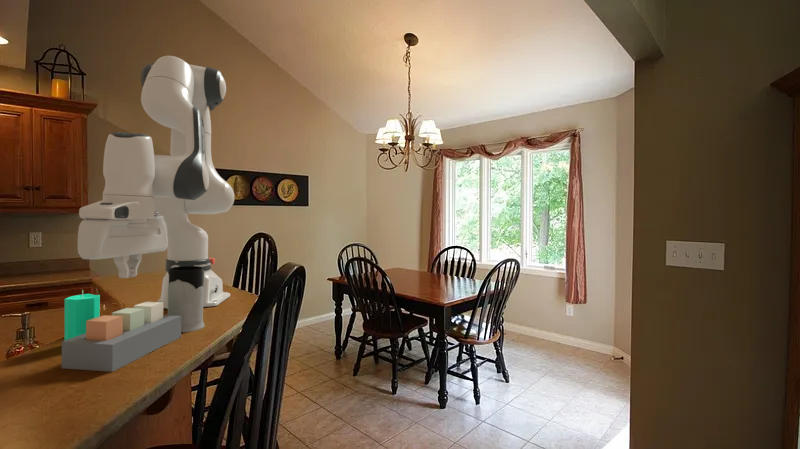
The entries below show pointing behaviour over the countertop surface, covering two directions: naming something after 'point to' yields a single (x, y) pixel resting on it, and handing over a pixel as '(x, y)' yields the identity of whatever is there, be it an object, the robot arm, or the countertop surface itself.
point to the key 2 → (151, 311)
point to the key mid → (131, 318)
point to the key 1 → (104, 327)
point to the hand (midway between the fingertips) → (128, 277)
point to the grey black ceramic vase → (186, 296)
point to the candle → (80, 313)
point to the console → (119, 346)
